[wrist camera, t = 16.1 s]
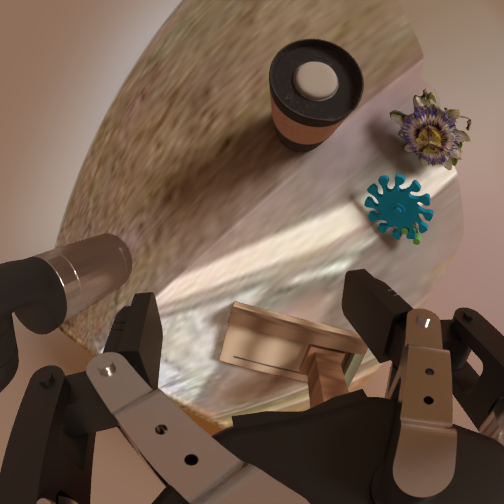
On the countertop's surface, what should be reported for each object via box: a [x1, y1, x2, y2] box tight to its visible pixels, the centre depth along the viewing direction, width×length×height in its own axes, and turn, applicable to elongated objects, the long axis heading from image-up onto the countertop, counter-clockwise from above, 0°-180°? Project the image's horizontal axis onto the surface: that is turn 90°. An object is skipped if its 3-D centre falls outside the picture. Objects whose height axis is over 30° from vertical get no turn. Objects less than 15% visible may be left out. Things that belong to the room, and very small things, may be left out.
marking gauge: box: [299, 344, 349, 408], centre depth 36 cm, size 6×6×15 cm
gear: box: [364, 174, 433, 245], centre depth 37 cm, size 11×6×10 cm
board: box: [219, 301, 368, 388], centre depth 43 cm, size 21×10×4 cm, turn 75°
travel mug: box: [269, 39, 364, 152], centre depth 29 cm, size 8×8×20 cm
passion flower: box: [390, 89, 471, 170], centre depth 33 cm, size 11×11×12 cm
